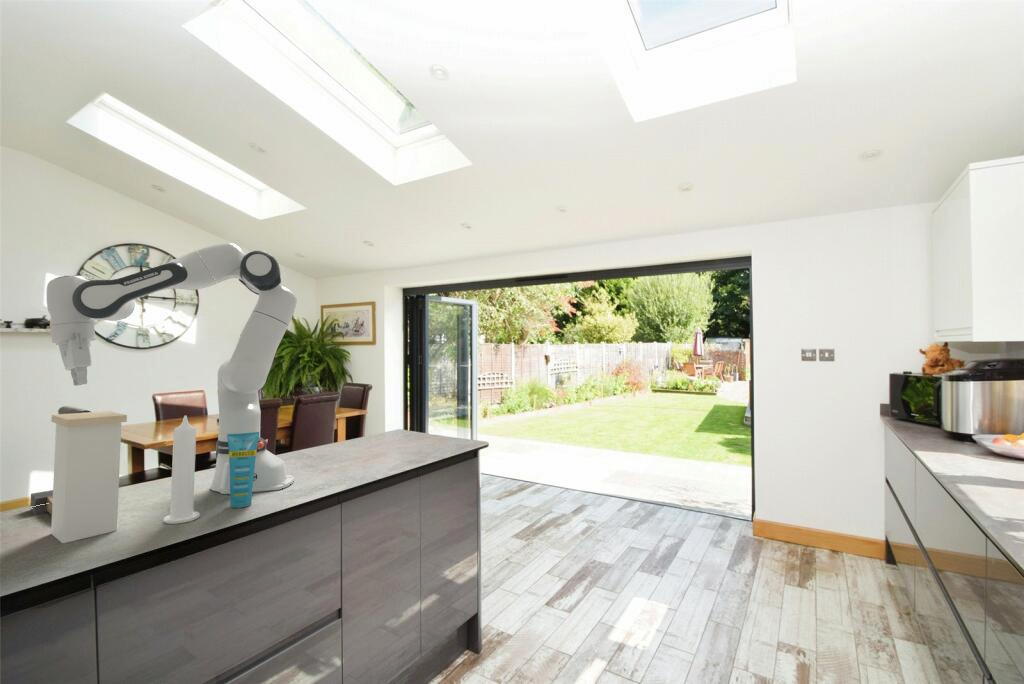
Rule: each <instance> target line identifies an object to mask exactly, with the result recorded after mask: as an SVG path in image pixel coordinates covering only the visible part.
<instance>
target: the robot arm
mask: <svg viewBox="0 0 1024 684" xmlns="http://www.w3.org/2000/svg"><path fill="white" fill-rule="evenodd" d="M230 279H238V281H239V282H240V283H241V284H242V285H244V287H246V289H248V290H249V291H250V292H252V293H254V294H255V295H258V300H257V301H256V304H255V306H254V308H253V310H252V312H251V313H250V316H249V318H248V319H247V321H246V323H245V325H244V327H243V329H242V331H241V333H240V336H239V338H238V342H237V343H236V346H235V349H234V351H233V353H232V356H231V358H229V359H227V360H225V361H224V362H222V364H221V365H220V367H219V368H218V369H217V370H218V371H217V400H218V401H217V402H218V403H217V404H218V414H219V415H218V433H217V434H218V435H217V437H218V439H217V440H216V444H215V458H216V464H215V469H214V470H215V471H214V473H213V478H212V482H211V484H210V487H209V489H210V490H211V491H213V492H218V493H220V494H221V495H230V464H229V447H228V439H227V434H239V433H251V432H259V439H258V445H257V452H256V460H255V469H254V479H253V490H252V493H256V492H268V491H269V492H270V491H279V490H282V488H283V489H285V488H288V487H289V486H291V485H292V484H293V483H294V482H293V481H295V477H294V476H293V475H292V474H288V472H287V468H286V467H287V466H286V463H285V462H284V460H283V459H281V458H280V457H278V456H277V455H275V453H274V454H273V453H272V452H271V451H269V450H268V449H267V444H268V443H269V442H268V440H269V439H268V438H267V439H264V438H263V437H262V436H261V421H262V420H261V414H262V411H261V407H260V406H261V405H260V399H259V391H260V390H261V389H262V388H263V387H264V386H265V384H266V382H267V379H268V376H269V374H270V370H271V368H272V365H273V362H274V358H275V357H276V356H275V355H276V353H277V349H278V348H279V345H280V344H281V341H282V339H283V337H284V336H285V333H286V331H287V329H288V328H289V325H290V323H291V321H292V318H293V316H294V313H295V309H296V306H297V302H298V299H297V296H296V294H295V293H294V292H293V291H292V290H291V289H289V288H287V287H285V286H283V285H282V272H281V269H280V265H279V262H278V261H277V259H276V258H275V257H274V256H273V255H272V254H270V253H269V252H268V251H267V252H266V251H263V250H253V251H249V252H248V253H246V254H245V252H244V250H242V248H241V247H239V246H238V245H237V244H235V243H232V242H224V243H218V244H213V245H210V246H206V247H202V248H200V249H199V248H198V249H197V250H194V251H191V252H189V253H186V254H183V255H182V256H179V257H177V258H174V259H172V260H171V261H167V262H165V263H163V264H160V265H158V266H155V267H151V268H148V269H146V270H145V269H144V270H142V271H139V272H135V273H132V274H129V275H126V276H122V277H119V278H115V279H93V280H89V279H88V278H85V277H83V276H81V275H64V276H59V277H55V278H53V279H51V280H50V281H48V283H47V286H46V305H47V306H46V307H47V311H48V313H49V316H50V321H49V328H50V329H49V330H50V335H51V336H50V337H51V343H53V344H55V345H56V346H58V349H59V352H60V355H61V356H60V357H61V361H62V364H63V366H64V369H65V370H66V371H70V375H71V378H72V384H73V386H76V387H77V386H82V385H87V384H88V367H91V366H92V355H91V350H90V347H91V346H92V345H91V341H92V342H93V341H96V340H97V337H96V331H95V324H94V323H95V320H104V321H108V322H109V321H111V322H113V321H115V322H116V321H121V320H124V319H127V318H128V317H130V316H131V315H132V314H133V312H134V311H135V306H136V305H135V300H137V299H140V298H143V297H146V296H149V295H152V294H154V293H157V292H161V291H164V290H171V289H172V290H174V289H175V290H176V289H177V290H186V291H187V290H188V291H197V290H201V289H205V288H209V287H212V286H214V285H217V284H219V283H222V282H224V281H227V280H230ZM290 484H291V485H290Z"/></svg>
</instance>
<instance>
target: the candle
mask: <svg viewBox="0 0 1024 684" xmlns="http://www.w3.org/2000/svg"><path fill="white" fill-rule="evenodd" d="M172 437H173V438H172V464H171V466H172V467H171V468H172V469H171V485H170V486H171V489H170V491H171V493H170V514H168V515H165V517H163V523H164V524H166V525H167V524H168V525H177V524H178V525H179V524H185V523H190V522H193V521H195V520H196V519H198V518H199V517H200V512H199V511H194V499H195V498H194V497H195V496H194V494H195V476H196V475H195V471H196V448H197V447H196V443H197V428H196V427H194V426H193V425H191V424H190V422H189V420H188V415H184V416H183V419H182V422H181V424H180V425H178V426H177V427H176V428H174V429H173V434H172Z"/></svg>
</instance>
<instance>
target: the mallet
mask: <svg viewBox="0 0 1024 684" xmlns="http://www.w3.org/2000/svg"><path fill="white" fill-rule="evenodd" d="M52 502H53V489H52V490H51V489H50V490H45V491H39V492H33V493H30V503H29V507H30V506H36V505H40V504H45V505H40V506H36V507H32V508H33V509H31V510H30V511H31V513H32V514H33V515H39V514H45V513H49V514H50V515H51V516H52ZM46 503H49V504H46Z"/></svg>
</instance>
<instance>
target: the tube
mask: <svg viewBox="0 0 1024 684" xmlns="http://www.w3.org/2000/svg"><path fill="white" fill-rule="evenodd" d="M227 439H228V447H229V464H230V494H229V506H230V507H231V508H235V509H237V508H239V509H240V508H246V507H249V506H251V504H252V498H253V492H252V490H253V479H254V469H255V460H256V452H257V445H258V439H259V432H251V433H239V434H227Z"/></svg>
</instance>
